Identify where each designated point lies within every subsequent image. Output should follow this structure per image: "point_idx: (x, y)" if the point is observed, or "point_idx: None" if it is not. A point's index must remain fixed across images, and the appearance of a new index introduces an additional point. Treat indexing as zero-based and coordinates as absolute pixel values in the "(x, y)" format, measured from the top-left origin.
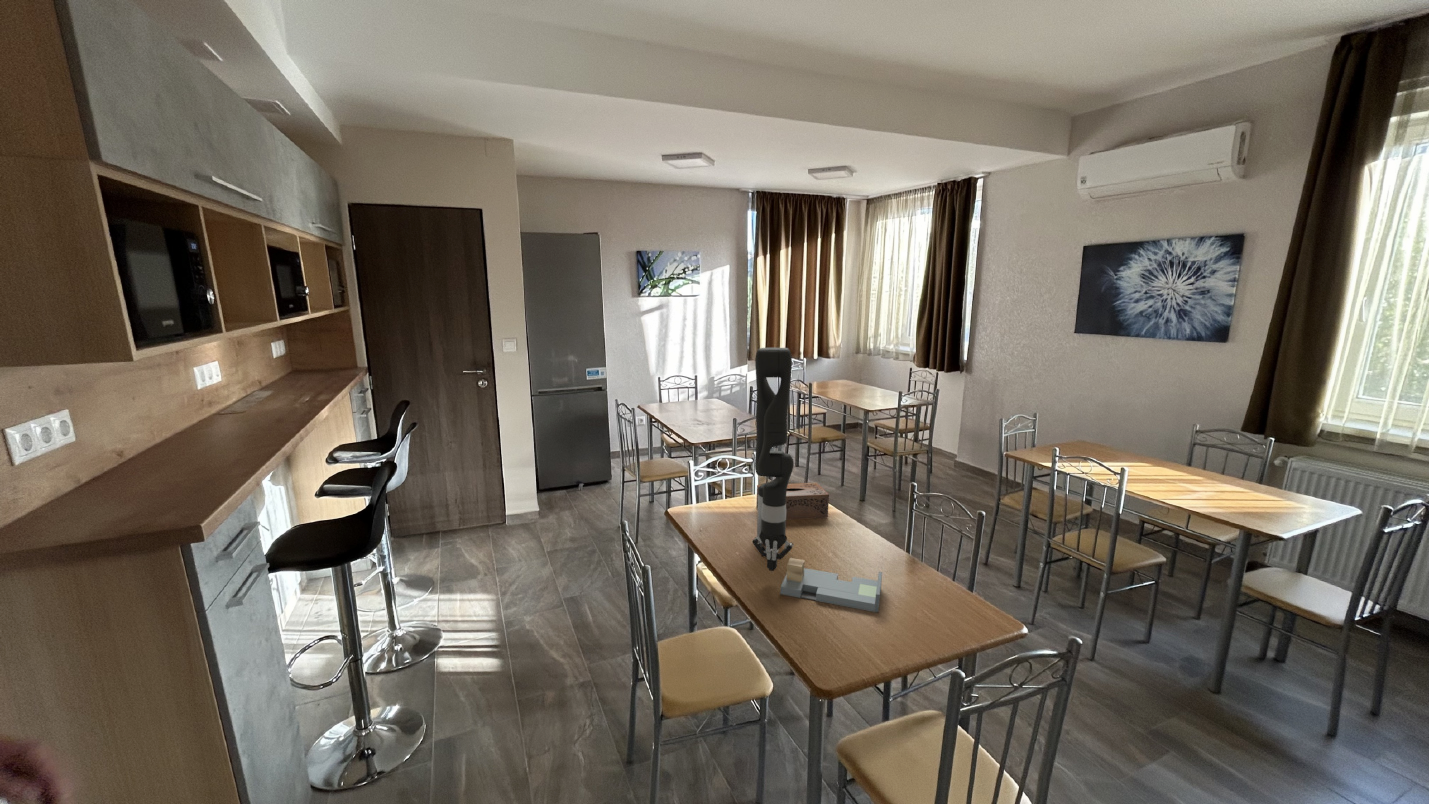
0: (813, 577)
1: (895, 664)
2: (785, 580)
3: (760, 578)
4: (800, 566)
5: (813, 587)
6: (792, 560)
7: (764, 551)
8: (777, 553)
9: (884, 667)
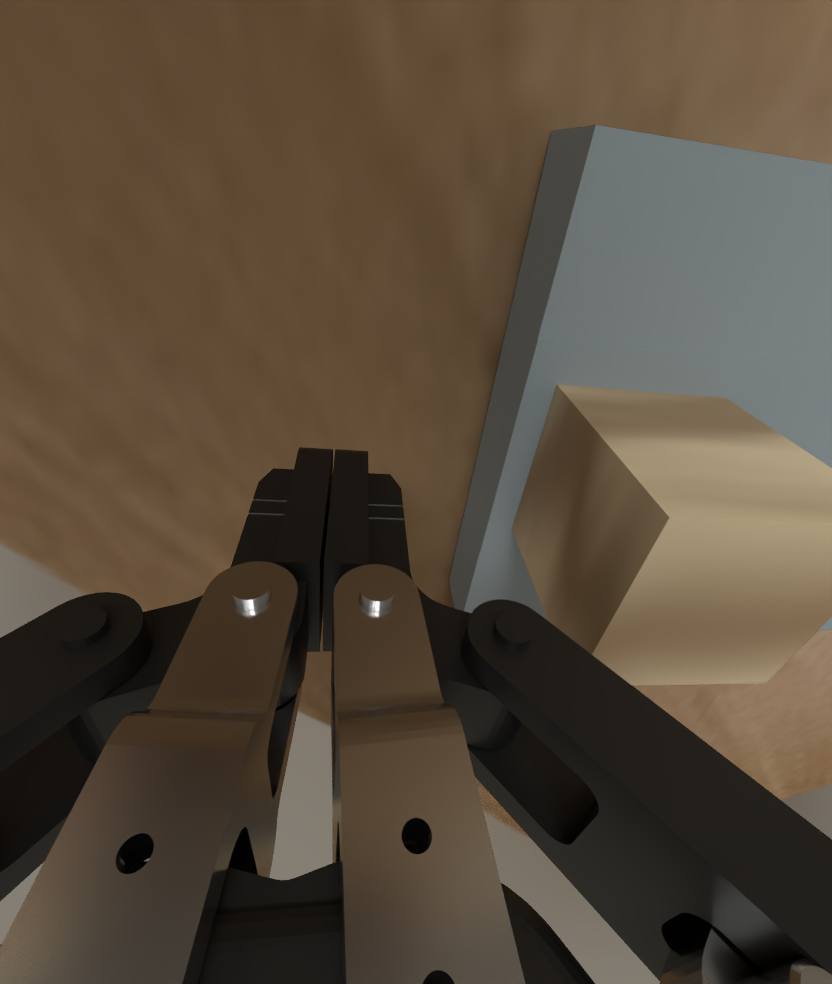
0: (821, 416)
1: (823, 783)
2: (500, 543)
3: (213, 400)
4: (748, 682)
5: None
6: (685, 583)
7: (100, 737)
8: (421, 674)
9: (779, 796)
